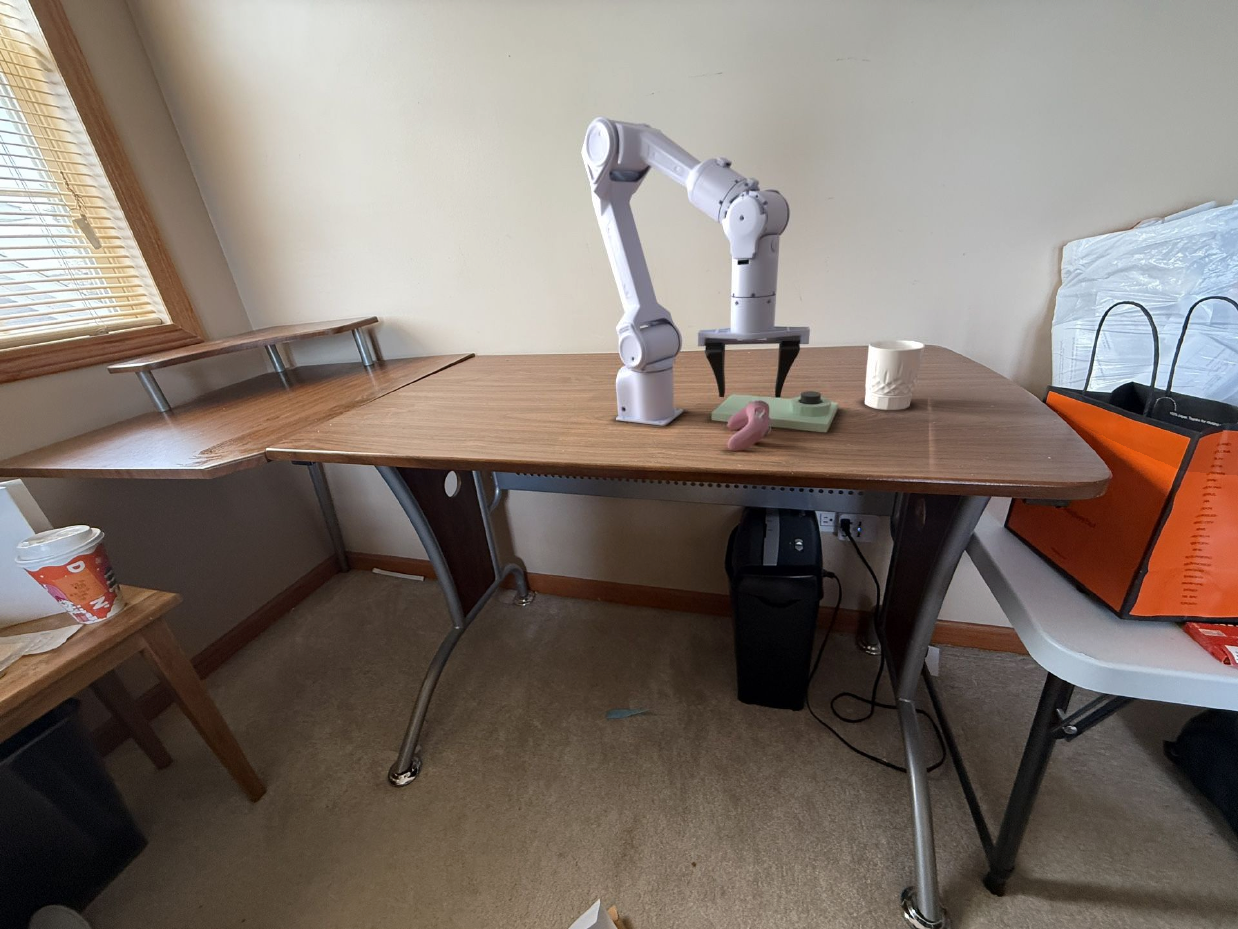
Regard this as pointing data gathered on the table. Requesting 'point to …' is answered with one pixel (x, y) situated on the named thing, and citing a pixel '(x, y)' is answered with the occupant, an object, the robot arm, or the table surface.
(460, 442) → the table surface
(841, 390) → the table surface
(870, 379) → the white cup
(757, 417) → the video game controller
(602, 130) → the robot arm
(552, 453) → the table surface
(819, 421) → the scale
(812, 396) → the button
